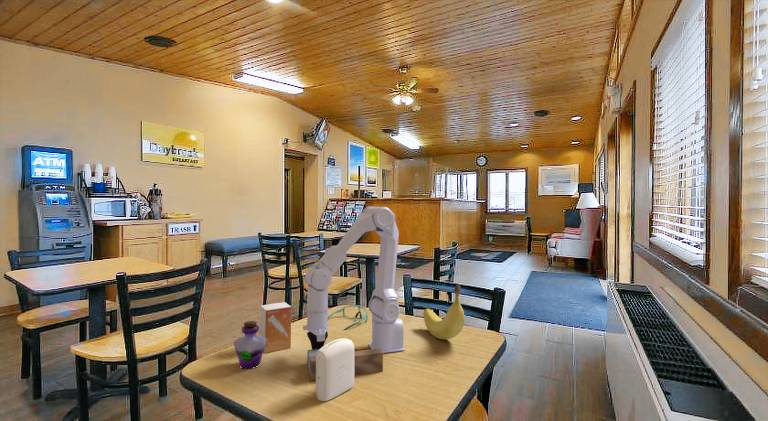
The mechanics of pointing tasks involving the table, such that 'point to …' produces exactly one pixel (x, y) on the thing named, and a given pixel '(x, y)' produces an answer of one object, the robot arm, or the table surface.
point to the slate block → (311, 353)
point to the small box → (276, 326)
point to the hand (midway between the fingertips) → (317, 357)
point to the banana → (446, 320)
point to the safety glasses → (349, 316)
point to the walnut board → (358, 362)
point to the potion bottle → (250, 346)
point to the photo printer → (334, 369)
